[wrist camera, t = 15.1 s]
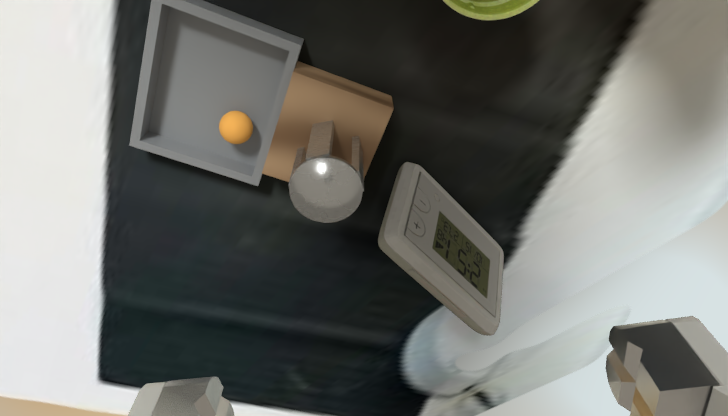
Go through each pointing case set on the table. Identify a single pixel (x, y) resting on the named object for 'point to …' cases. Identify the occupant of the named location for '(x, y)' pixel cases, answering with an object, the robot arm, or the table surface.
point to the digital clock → (443, 249)
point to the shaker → (326, 178)
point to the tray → (211, 85)
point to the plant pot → (490, 8)
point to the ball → (235, 127)
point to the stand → (326, 118)
